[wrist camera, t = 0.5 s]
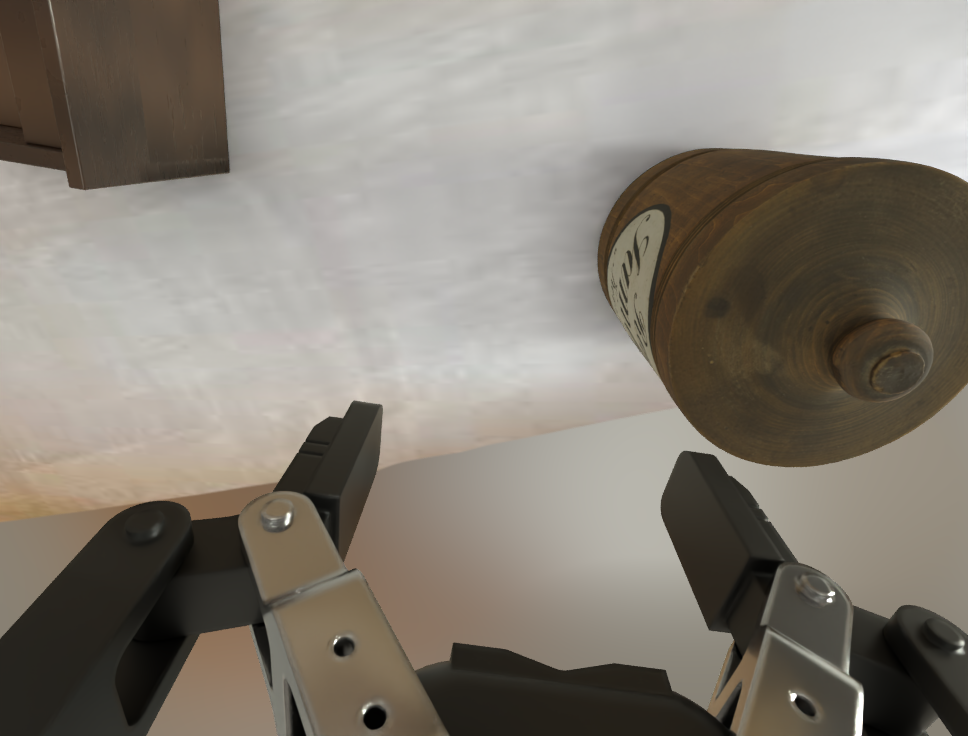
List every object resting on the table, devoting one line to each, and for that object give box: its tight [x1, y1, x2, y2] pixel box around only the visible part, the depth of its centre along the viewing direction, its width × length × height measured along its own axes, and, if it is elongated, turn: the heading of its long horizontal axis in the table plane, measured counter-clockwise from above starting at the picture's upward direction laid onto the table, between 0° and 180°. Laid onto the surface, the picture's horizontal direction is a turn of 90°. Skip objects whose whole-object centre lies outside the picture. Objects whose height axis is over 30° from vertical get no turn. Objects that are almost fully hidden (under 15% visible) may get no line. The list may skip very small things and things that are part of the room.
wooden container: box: [598, 148, 968, 467], centre depth 28 cm, size 15×15×22 cm
